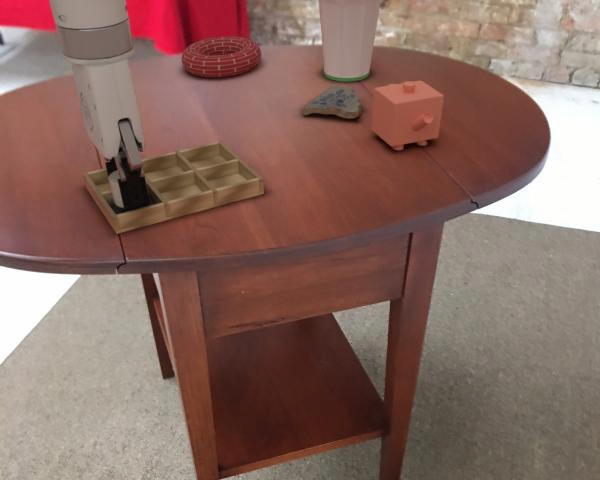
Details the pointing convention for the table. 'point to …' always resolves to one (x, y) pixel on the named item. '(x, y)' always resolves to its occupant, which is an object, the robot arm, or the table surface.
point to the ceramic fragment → (336, 103)
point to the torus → (221, 56)
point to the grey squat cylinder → (116, 188)
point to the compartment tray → (180, 185)
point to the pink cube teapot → (406, 113)
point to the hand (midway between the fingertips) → (130, 197)
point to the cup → (348, 37)
